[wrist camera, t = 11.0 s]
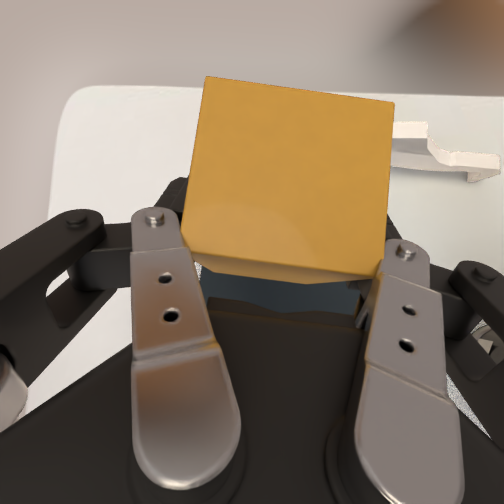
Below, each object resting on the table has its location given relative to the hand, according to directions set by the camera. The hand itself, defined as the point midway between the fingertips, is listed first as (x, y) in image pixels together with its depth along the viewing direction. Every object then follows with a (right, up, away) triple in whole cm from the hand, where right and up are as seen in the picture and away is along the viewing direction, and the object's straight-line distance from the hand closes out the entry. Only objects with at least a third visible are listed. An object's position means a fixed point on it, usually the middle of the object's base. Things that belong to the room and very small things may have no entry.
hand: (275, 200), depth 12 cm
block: (0, -1, +5) cm, 5 cm away
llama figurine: (+14, +7, +19) cm, 25 cm away
